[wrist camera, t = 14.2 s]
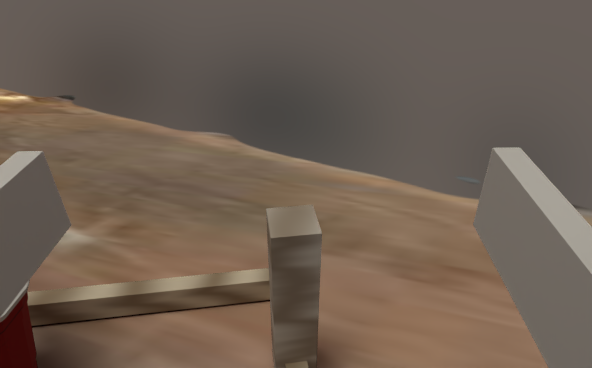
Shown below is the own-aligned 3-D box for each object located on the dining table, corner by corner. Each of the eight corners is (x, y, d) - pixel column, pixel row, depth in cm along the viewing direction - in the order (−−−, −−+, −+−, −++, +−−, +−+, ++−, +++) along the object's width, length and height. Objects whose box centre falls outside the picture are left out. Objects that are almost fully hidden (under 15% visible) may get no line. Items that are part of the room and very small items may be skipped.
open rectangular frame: (296, 284, 41) (296, 154, 33) (337, 484, 26) (353, 332, 19) (-25, 318, 37) (-103, 181, 30) (-183, 571, 23) (-413, 426, 15)
